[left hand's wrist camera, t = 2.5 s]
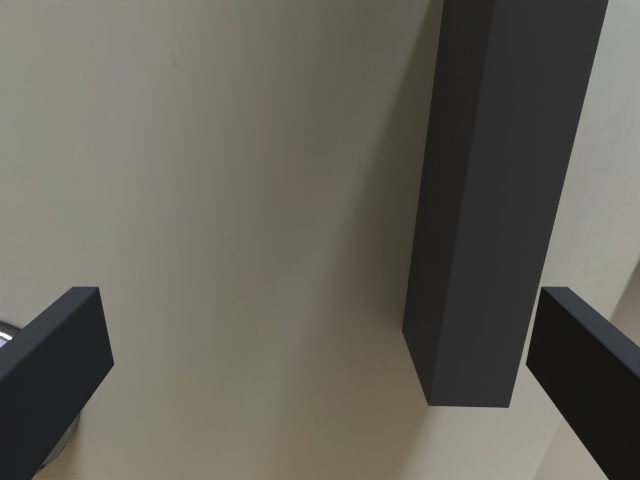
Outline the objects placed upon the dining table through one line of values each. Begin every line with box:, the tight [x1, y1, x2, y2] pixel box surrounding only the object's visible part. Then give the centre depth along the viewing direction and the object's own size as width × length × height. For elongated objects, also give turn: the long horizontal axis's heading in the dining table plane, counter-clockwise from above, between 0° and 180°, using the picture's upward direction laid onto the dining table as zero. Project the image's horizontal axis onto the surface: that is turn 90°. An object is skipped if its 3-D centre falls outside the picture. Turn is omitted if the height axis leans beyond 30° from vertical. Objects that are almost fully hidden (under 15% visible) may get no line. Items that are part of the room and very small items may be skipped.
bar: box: [402, 0, 609, 408], centre depth 26 cm, size 26×5×8 cm, turn 178°
